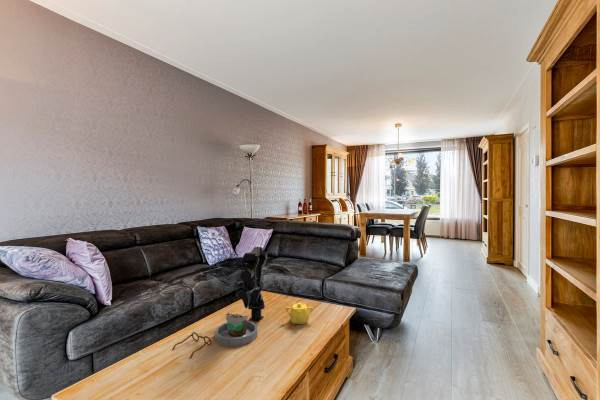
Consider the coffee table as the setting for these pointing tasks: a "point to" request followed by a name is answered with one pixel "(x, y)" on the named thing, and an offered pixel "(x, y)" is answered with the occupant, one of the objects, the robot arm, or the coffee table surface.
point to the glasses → (196, 340)
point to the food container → (236, 324)
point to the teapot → (299, 313)
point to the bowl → (227, 340)
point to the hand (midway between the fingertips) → (250, 305)
